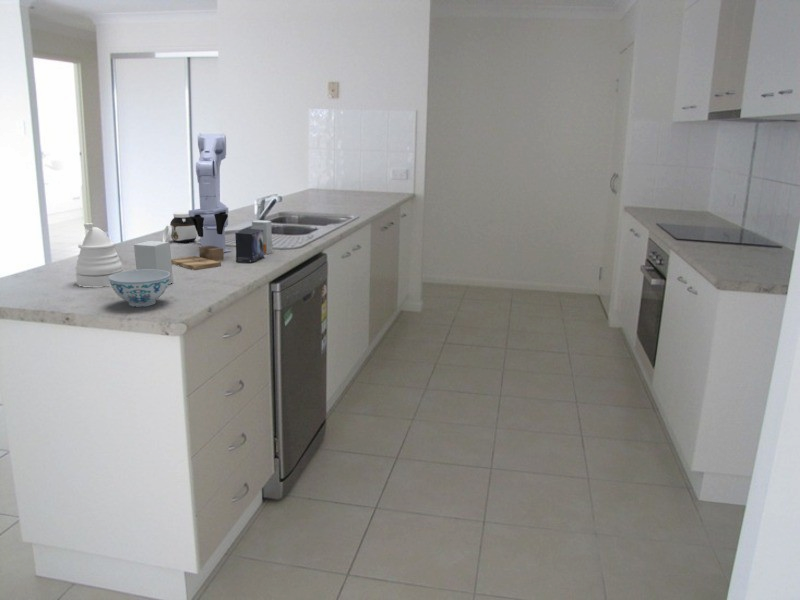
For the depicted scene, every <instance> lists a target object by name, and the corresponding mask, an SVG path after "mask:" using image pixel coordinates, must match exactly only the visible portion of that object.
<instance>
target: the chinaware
mask: <svg viewBox="0 0 800 600" xmlns="http://www.w3.org/2000/svg"><path fill="white" fill-rule="evenodd" d="M169 279H170V273H169V272H167V271H164V270H155V269H141V270H136V269H130V270H123V272H118V273H115V274H112V275H110V276H109V280H110V283H111V286H110V287H112V289H113V291H114V292H115V294H117V296H118V297H120V298H121V299H122V300H124V301H126V302H127V303H128V305H129V306H130V307H134V306H136V307H137V308H139V307H140V308H141V307H142V306H143V307H149V306H152V305H155V304H156V303H157V300H158V299H159V298H160V297H161V296H162V295H163V294H164V293H165V292H166V290H167V289H168V286H169V285H168V283H169Z"/></svg>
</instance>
